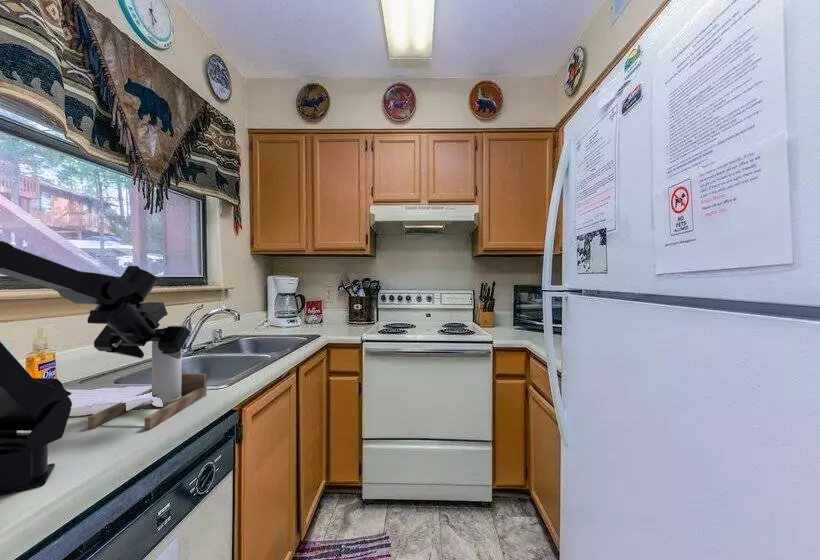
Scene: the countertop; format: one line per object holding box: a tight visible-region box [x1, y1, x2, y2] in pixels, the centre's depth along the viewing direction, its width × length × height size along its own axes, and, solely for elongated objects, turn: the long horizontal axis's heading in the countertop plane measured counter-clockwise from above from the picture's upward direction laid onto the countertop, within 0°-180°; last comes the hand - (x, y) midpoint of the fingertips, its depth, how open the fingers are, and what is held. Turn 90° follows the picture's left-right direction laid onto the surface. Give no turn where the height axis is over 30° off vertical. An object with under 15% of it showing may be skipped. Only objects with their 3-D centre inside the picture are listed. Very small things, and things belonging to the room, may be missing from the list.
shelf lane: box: [87, 372, 208, 431], centre depth 83 cm, size 21×13×6 cm, turn 1°
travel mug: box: [151, 327, 183, 408], centre depth 87 cm, size 6×7×20 cm
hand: (161, 356), depth 85 cm, fingers open, 9 cm apart
